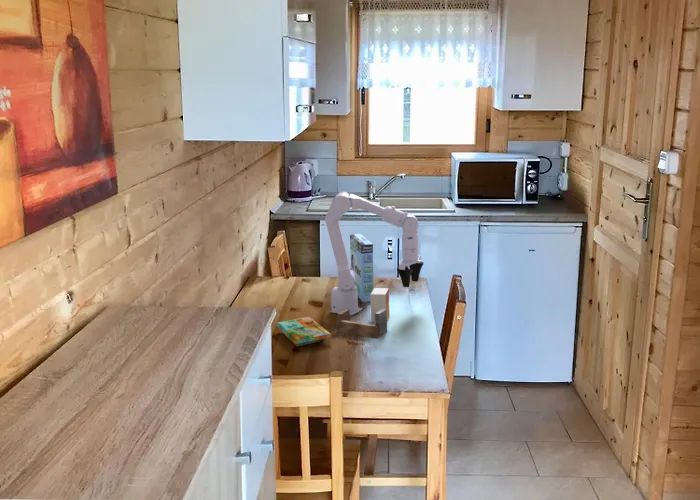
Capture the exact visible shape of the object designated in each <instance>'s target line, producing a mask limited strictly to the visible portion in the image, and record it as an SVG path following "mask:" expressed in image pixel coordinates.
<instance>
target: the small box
mask: <svg viewBox="0 0 700 500" xmlns="http://www.w3.org/2000/svg"><path fill="white" fill-rule="evenodd" d="M370 301H371V302H370V320H371V321H370V322H371V323H375V313H377V312H378V311H380V310H381V309H387V321H389V320H388V319H389V317H390V289H389V288H387V287H374V289H373V291H372V293H371V294H370Z"/></svg>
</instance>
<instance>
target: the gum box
mask: <svg viewBox="0 0 700 500" xmlns="http://www.w3.org/2000/svg"><path fill="white" fill-rule="evenodd" d="M349 241H350V242H349V245H350V246H349V249H350V250H349V254H350V264H351V267H352V269H353V270H354V271H355V273H356V279H355V285H356V286H357V294H358V299H359V300H360V301H361V303H369V302H370V303H371V301H370V294H371V293H372V291H373V289H374V288H375V286H374V285H375V284H374V281H375V280H374V244H373V242H371V241H370V240H368V239H367V238H366V237H365V236H364V235H362V234H361V233H355V234H354V233H352V234H349Z"/></svg>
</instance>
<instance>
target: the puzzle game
mask: <svg viewBox="0 0 700 500" xmlns="http://www.w3.org/2000/svg"><path fill="white" fill-rule="evenodd" d="M276 327H277V328H278V329H279V330H280V331H281V333H282V334H283V335H284V334H285V335H284V336H285V337H287V339H289V340H290V341H291V342H292V343H293V344H294V345H295V346H296V347H299V346H305V345H309V344H315V343H320V342H324V341H325V340H326V339H330V338H332V334H331V333H330V331H328V330H327V329H325V328H324V327H323V326H322V325H320V323H318V322H316V320H314V319H313V318H312V317H311V316H305V317H300V318H295V319H294V318H293V319H290V320H288V319H287V320H282V321H278V322H276Z"/></svg>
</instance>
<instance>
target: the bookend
mask: <svg viewBox="0 0 700 500" xmlns="http://www.w3.org/2000/svg"><path fill="white" fill-rule="evenodd" d="M374 325H379V337H378V338H380V337H382V336H383V335H385V334H386V333H388V320H387V309H381V310H380V311H378V312H377V313H375V322H374Z"/></svg>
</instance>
